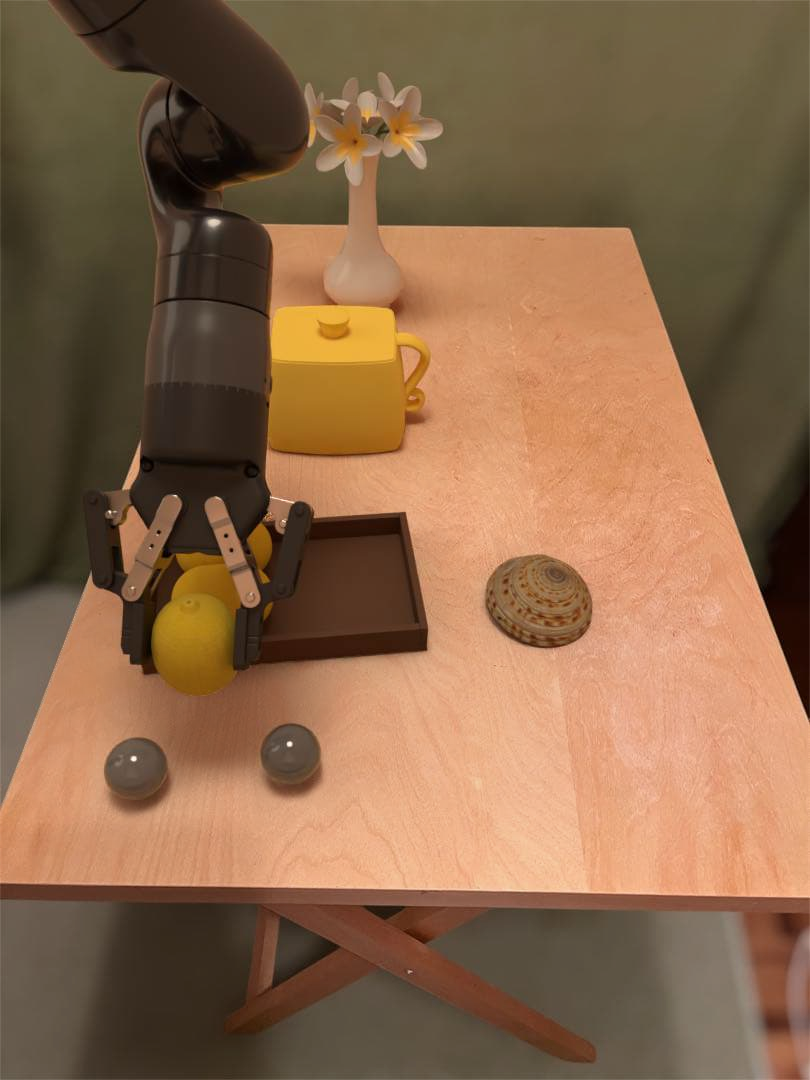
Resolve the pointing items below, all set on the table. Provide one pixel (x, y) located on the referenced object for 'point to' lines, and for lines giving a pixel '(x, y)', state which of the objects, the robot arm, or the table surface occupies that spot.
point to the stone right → (290, 753)
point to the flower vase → (366, 180)
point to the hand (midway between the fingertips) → (191, 665)
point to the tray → (338, 593)
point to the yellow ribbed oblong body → (214, 585)
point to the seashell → (539, 600)
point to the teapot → (341, 380)
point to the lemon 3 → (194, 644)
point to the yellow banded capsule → (258, 543)
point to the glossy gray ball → (135, 768)
